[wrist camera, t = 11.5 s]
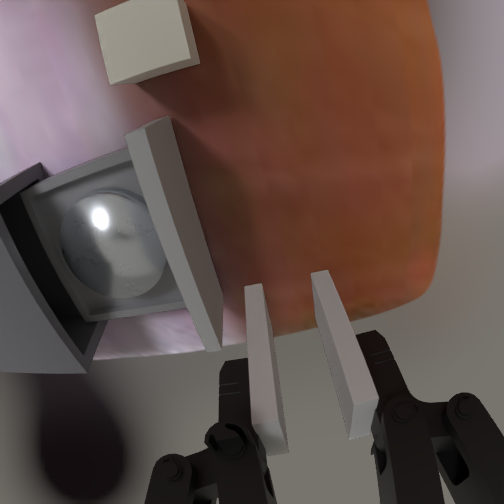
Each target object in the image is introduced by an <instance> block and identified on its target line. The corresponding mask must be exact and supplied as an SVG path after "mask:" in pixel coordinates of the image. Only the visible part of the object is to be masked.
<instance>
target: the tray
mask: <svg viewBox="0 0 504 504" xmlns="http://www.w3.org/2000/svg"><path fill="white" fill-rule="evenodd" d="M124 136H125V139H126V143H127V146H128V147H126V148H123V149H120V150H117V151H114V152H112V153H109V154H106V155H103V156H101V157H98V158H95V159H93V160H90V161H87V162H85V163H82V164H80V165H77V166H75V167H72V168H70V169H67V170H65V171H62V172H60V173H58V174H55V175H53V176H51V177H49V178H46V179H44V180H42V181H40V182H37V183H35V184H33V185H31V186H29V187H28V188H26V189H25V190H23V191H22V192H20V196H21V198H22V201H23V203H24V206H25V208H26V210H27V213H28V215H29V217H30V220H31V222H32V224H33V226H34V229H35V231H36V233H37V235H38V237H39V239H40V241H41V243H42V246H43V248H44V250H45V252H46V254H47V256H48V258H49V259H50V261H51V263H52V265H53V267H54V269H55V271H56V273H57V275H58V276H59V278H60V280H61V282H62V284H63V285H64V287H65V289H66V291H67V292H68V294H69V296H70V298H71V299H72V301H73V303H74V304H75V306H76V308H77V309H78V311H79V312H80V314H81V316H82V317H83V319H84V320H85V322H86V323H87V322H94V321H102V320H109V319H117V318H124V317H131V316H138V315H144V314H151V313H157V312H164V311H170V310H176V309H182V308H187V309H188V311H189V313H190V316H191V318H192V320H193V323H194V325H195V327H196V329H197V332H198V334H199V336H200V338H201V340H202V343H203V345H204V347H205V349H206V351H207V352H214V351H220V350H222V332H223V301H224V296H223V293H222V290H221V287H220V284H219V281H218V278H217V275H216V272H215V269H214V266H213V263H212V259H211V256H210V253H209V250H208V247H207V244H206V240H205V237H204V234H203V231H202V227H201V224H200V221H199V218H198V214H197V211H196V208H195V204H194V201H193V197H192V194H191V191H190V187H189V184H188V180H187V177H186V173H185V170H184V166H183V163H182V159H181V156H180V152H179V149H178V145H177V141H176V138H175V134H174V130H173V127H172V123H171V119H170V115H169V116H165V117H162V118H159V119H156V120H153V121H151V122H149V123H147V124H145V125H143V126H141V127H139V128H137V129H135V130H133V131H131V132H129V133H127V134H125V135H124ZM106 187H116V188H122V189H126V190H129V191H132V192H134V193H136V194H138V195H139V196H141V197H143V198H144V199H145V201H146V204H147V207H148V209H149V212H150V215H151V218H152V221H153V223H154V226H155V229H156V231H157V234H158V237H159V239H160V242H161V245H162V247H163V250H164V253H165V255H166V258H167V261H166V264H165V267H164V270H163V273H162V275H161V277H160V279H159V280H158V282H157V283H156V284H155V285H154V286H153V287H152V288H151V289H150V290H149V291H147V292H145V293H144V294H141V295H139V296H135V297H131V298H114V297H109V296H105V295H103V294H100V293H98V292H96V291H94V290H92V289H90V288H89V287H87V286H86V285H84V284H83V283H82V282H81V281H80V280H79V279H78V278H77V277H76V276H75V275H74V274H73V273H72V271H71V270H70V269H69V267H68V265H67V264H66V262H65V259H64V257H63V254H62V251H61V247H60V228H61V224H62V221H63V219H64V217H65V215H66V213H67V212H68V211H69V209H70V208H71V207H72V206H74V205H75V204H76V203H77V202H78V201H79V200H80V199H81V198H82V197H84V196H85V195H86V194H88V193H89V192H91V191H94V190H96V189H100V188H106Z"/></svg>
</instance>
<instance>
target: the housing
mask: <svg viewBox="0 0 504 504" xmlns="http://www.w3.org/2000/svg"><path fill="white" fill-rule="evenodd" d="M44 179H46V178H45V175H44V172H43V169H42V167H41V164H40V162H39V163H37V164H35V165H33V166H31V167H29V168H27V169H25V170H23V171H22V172H20V173H18V174H16V175H14V176H12V177H10V178H9V179H7V180H5V181H3V182H1V183H0V371H1V372H18V373H87V372H88V370H89V367H90V364H91V362H92V359H93V356H94V354H95V351H96V349H97V346H98V343H99V341H100V338H101V336H102V333H103V331H104V329H105V326H106V324H107V321H108V320H102V321H94V322H87V323H86V322H85V320H84V319H83V317H82V316H81V314H80V312H79V311H78V309H77V308H76V306H75V304H74V303H73V301H72V299H71V298H70V296H69V294H68V292H67V291H66V289H65V287H64V285H63V284H62V282H61V280H60V278H59V276H58V275H57V273H56V271H55V269H54V267H53V265H52V263H51V261H50V259H49V258H48V256H47V254H46V252H45V250H44V248H43V246H42V243H41V241H40V239H39V237H38V235H37V233H36V231H35V229H34V226H33V224H32V222H31V220H30V217H29V215H28V213H27V210H26V208H25V206H24V203H23V201H22V198H21V196H20V192H22V191H23V190H25V189H26V188H28V187H29V186H31V185H33V184H35V183H37V182H40V181H42V180H44Z"/></svg>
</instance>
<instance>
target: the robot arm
mask: <svg viewBox="0 0 504 504" xmlns="http://www.w3.org/2000/svg"><path fill="white" fill-rule="evenodd" d="M311 280H312V289H313V299H314V309H315V319H316V322H317V325H318V329H319V332H320V336H321V339H322V342H323V346H324V349H325V353H326V356H327V360H328V363H329V367H330V370H331V374H332V377H333V381H334V385H335V389H336V392H337V396H338V400H339V403H340V407H341V411H342V415H343V419H344V422H345V426H346V430H347V434H348V438H349V440H353V439H357V438H360V437H364V436H367V435H370V432H371V431H372V434H373V437H374V442H373V445H372V448H371V455H373V454H374V457H375V464H376V470H377V478H378V487H379V496H380V504H445V502H444V497H443V491H442V486H441V481H440V476H439V472H440V474H441V476H442V478H443V480H444V482H445V484H446V486H447V488H448V489H449V491H450V494H451V496H452V498H453V500H454V502H455V503H456V504H504V436H503V435H502V433H501V431H500V430H499V428H498V427H497V425H496V424H495V422H494V421H493V419H492V418H491V417H490V415H489V413H488V412H487V410H486V409H485V407H484V406H483V404H482V403H481V402H480V400H479V399H478V398H477V397H476V396H475V395H473V394H470V393H459V394H456V395H454V396H453V397H452V398H451V399H450V400H449V402H436V403H427V402H422V401H419V400H417V399H416V398H414V397H413V396H412V395H411V393H410V392H409V390H408V388H407V386H406V384H405V381H404V379H403V377H402V374H401V372H400V370H399V368H398V365H397V363H396V361H395V360H394V357H393V354H392V352H391V351H390V348H389V346H388V344H387V342H386V340H385V338H384V337H383V336H382V335H380V334H379V333H378V332H377V331H376V330H373V331H370V332H365V333H361V334H358V335H355V333H354V331H353V329H352V326H351V323H350V321H349V319H348V316H347V314H346V311H345V309H344V306H343V304H342V302H341V299H340V297H339V295H338V292H337V290H336V288H335V285H334V283H333V281H332V278H331V276H330V274H329V271H328V270H324V271H319V272H314V273H311ZM244 289H245V309H246V329H247V348H248V358H243V359H237V360H229V361H225V363H224V365H223V367H222V369H221V371H220V376H219V385H220V387H219V422H218V423H216V424H214V425H213V426H212V427H210V428H209V430H208V432H207V433H206V435H205V441H204V443H205V444H206V445H207V446H208V448H207V449H205V450H203V451H200V452H198V453H195V454H192V455H189V456H186V457H184V456H182V455H178V454H168V455H165V456H163V457H161V458H160V459H159V460H158V461H157V462H156V464H155V466H154V468H153V471H152V475H151V479H150V483H149V487H148V491H147V495H146V500H145V504H216V500H217V498H219V504H277V502H276V497H275V493H274V489H273V485H272V480H271V475H270V471H269V468H268V466H267V460H266V454H267V456H271V455H277V454H285V453H289V449H288V442H287V434H286V427H285V419H284V412H283V404H282V397H281V389H280V382H279V375H278V368H277V361H276V353H275V345H274V338H273V331H272V325H271V321H270V317H269V312H268V308H267V304H266V299H265V295H264V291H263V286H262V283H259V284H254V285H249V286H244ZM438 470H439V471H438Z"/></svg>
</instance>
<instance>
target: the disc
mask: <svg viewBox="0 0 504 504" xmlns="http://www.w3.org/2000/svg"><path fill="white" fill-rule="evenodd" d="M60 247H61V251H62V254H63V257H64V259H65V262H66V264H67V265H68V267H69V269H70V270H71V271H72V273H73V274H74V275H75V276H76V277H77V278H78V279H79V280H80V281H81V282H82V283H83V284H84V285H86V286H87V287H89V288H90V289H92V290H94V291H96V292H98V293H100V294H103V295H105V296H109V297H114V298H131V297H135V296H139V295H141V294H144V293H145V292H147V291H149V290H150V289H151V288H152V287H153V286H154V285H155V284H156V283H157V282H158V280H159V279H160V277H161V275H162V273H163V270H164V267H165V264H166V261H167V258H166V255H165V253H164V250H163V247H162V245H161V242H160V239H159V237H158V234H157V231H156V229H155V226H154V223H153V221H152V218H151V215H150V212H149V209H148V207H147V204H146V201H145V199H144V198H143V197H141V196H139V195H138V194H136V193H134V192H132V191H129V190H126V189H122V188H116V187H106V188H100V189H96V190H94V191H91V192H89V193H88V194H86V195H85V196H84V197H82V198H81V199H80V200H79V201H78V202H77V203H76V204H75V205H74V206H72V207H71V208H70V209H69V211H68V212H67V213H66V215H65V217H64V219H63V221H62V224H61V228H60Z"/></svg>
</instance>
